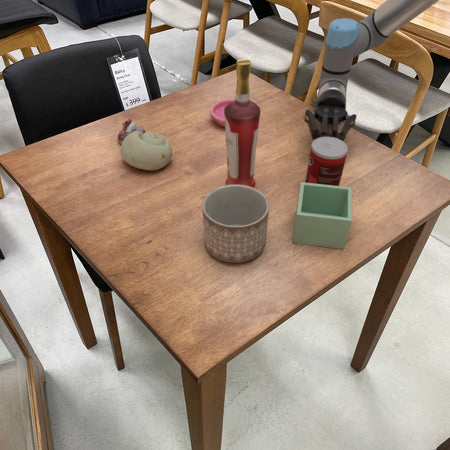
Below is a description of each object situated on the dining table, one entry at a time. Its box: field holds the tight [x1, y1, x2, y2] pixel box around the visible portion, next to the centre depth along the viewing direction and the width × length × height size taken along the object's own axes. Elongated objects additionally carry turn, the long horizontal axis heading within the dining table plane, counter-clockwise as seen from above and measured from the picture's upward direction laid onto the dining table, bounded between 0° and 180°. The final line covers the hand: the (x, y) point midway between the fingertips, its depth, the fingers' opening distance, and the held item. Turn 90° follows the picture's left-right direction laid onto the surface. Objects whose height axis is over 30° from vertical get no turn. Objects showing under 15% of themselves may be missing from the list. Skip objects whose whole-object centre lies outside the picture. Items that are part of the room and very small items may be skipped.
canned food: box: [305, 137, 349, 186], centre depth 98 cm, size 8×8×11 cm
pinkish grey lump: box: [117, 118, 147, 145], centre depth 114 cm, size 8×8×5 cm
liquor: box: [224, 58, 261, 188], centre depth 92 cm, size 7×7×28 cm
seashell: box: [119, 131, 173, 171], centre depth 106 cm, size 13×8×10 cm
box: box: [291, 181, 353, 250], centre depth 91 cm, size 11×11×8 cm
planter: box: [201, 184, 270, 264], centre depth 87 cm, size 13×13×10 cm
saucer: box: [209, 98, 235, 128], centre depth 121 cm, size 12×12×3 cm
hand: (327, 153), depth 100 cm, fingers closed
